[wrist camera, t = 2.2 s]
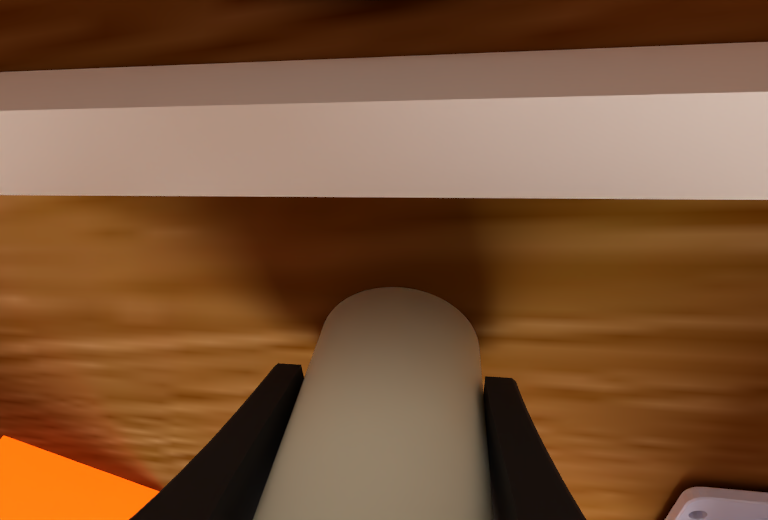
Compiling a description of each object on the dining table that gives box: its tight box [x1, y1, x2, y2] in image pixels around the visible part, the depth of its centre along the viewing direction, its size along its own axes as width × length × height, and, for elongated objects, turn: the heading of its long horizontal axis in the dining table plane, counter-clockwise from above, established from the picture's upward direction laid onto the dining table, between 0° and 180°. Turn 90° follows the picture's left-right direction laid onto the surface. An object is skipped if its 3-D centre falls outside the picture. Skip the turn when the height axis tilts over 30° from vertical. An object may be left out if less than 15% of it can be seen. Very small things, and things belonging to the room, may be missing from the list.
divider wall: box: [0, 42, 768, 200], centre depth 7 cm, size 1×18×4 cm, turn 93°
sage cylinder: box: [253, 287, 494, 520], centre depth 9 cm, size 4×4×6 cm
